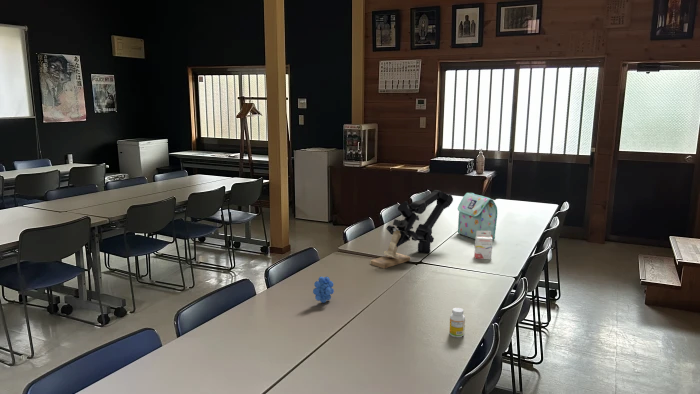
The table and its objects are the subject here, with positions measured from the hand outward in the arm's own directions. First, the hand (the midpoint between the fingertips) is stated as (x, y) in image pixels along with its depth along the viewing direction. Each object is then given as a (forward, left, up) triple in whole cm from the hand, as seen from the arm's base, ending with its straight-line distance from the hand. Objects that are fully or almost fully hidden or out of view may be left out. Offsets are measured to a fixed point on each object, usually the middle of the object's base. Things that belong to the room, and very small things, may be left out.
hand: (394, 245), depth 269 cm
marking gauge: (+2, +2, -5) cm, 6 cm away
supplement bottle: (-35, +80, -9) cm, 88 cm away
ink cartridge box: (-47, -17, -9) cm, 50 cm away
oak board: (+1, +2, -8) cm, 9 cm away
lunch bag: (-44, -61, -9) cm, 75 cm away
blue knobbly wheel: (+20, +63, -9) cm, 67 cm away
